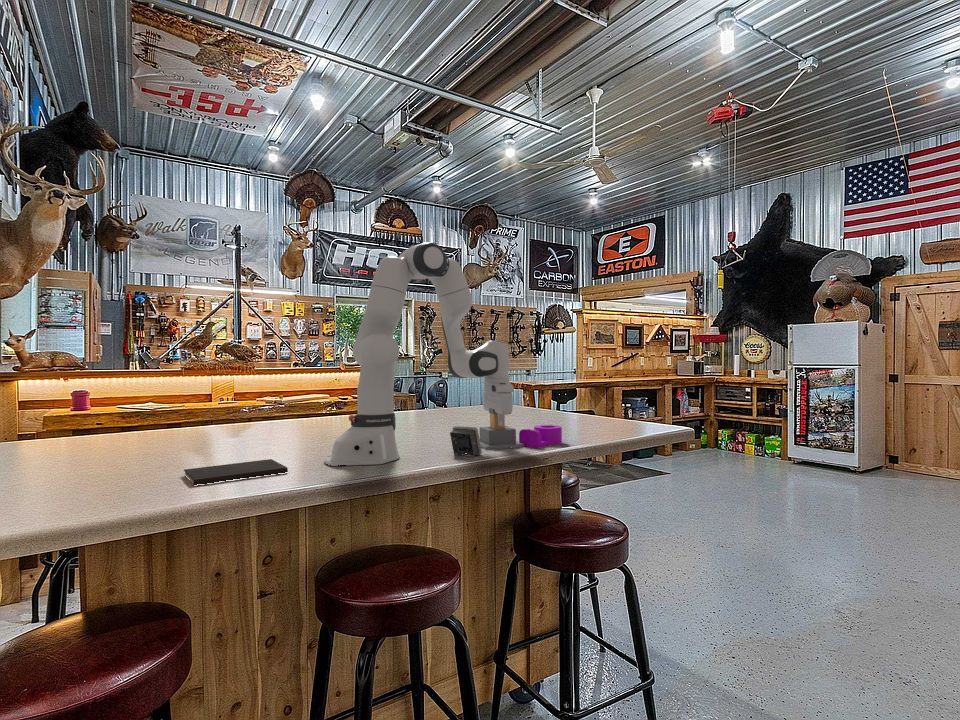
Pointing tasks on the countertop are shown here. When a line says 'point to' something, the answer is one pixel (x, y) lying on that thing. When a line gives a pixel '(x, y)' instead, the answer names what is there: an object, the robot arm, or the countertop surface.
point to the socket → (498, 438)
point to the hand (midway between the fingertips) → (497, 425)
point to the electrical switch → (465, 440)
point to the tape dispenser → (541, 436)
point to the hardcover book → (234, 471)
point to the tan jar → (495, 420)
